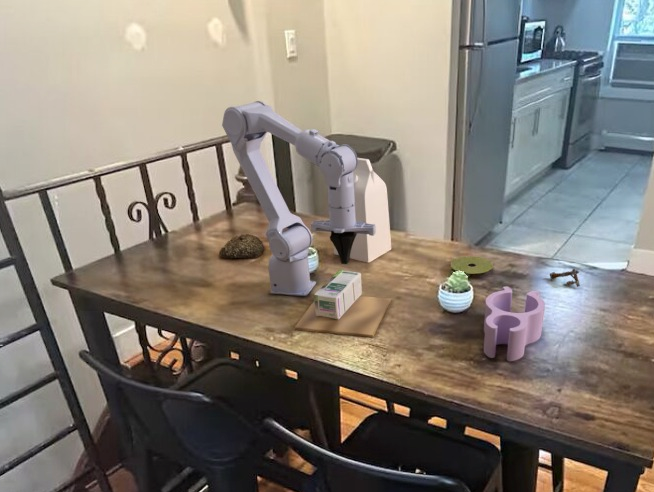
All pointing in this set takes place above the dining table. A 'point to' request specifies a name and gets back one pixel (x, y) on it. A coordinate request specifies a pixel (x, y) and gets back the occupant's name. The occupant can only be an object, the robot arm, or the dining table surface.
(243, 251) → the bread roll
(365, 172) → the milk
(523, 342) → the clip
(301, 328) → the wooden board
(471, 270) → the mat
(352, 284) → the syrup box
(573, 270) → the wooden post with brackets
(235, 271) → the dining table surface
